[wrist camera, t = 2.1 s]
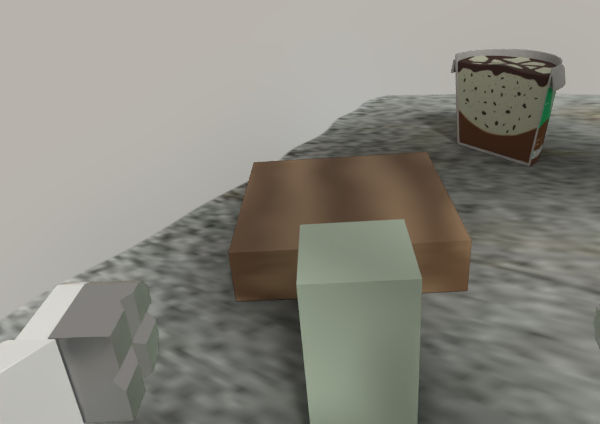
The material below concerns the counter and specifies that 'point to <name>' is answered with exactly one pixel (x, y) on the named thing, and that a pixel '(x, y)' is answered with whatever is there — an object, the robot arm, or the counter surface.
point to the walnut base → (344, 218)
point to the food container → (506, 101)
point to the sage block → (360, 322)
